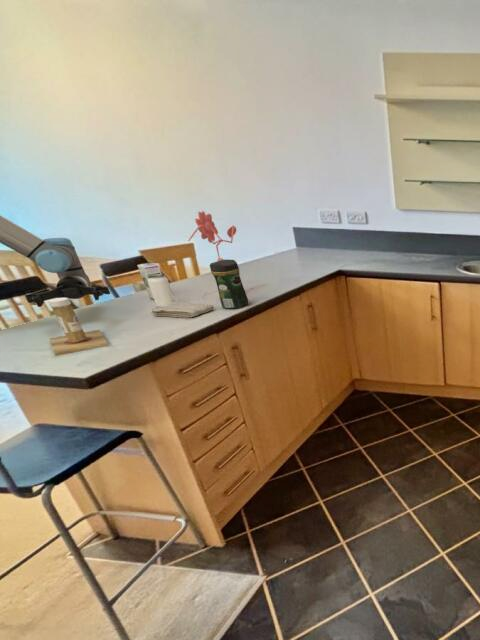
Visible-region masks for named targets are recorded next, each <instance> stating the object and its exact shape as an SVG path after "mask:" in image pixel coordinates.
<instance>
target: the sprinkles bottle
mask: <svg viewBox="0 0 480 640" xmlns="http://www.w3.org/2000/svg"><path fill="white" fill-rule="evenodd" d="M47 302H48V305H49V307H51V310H52V312H53V313H54V315H55V317H56V319H57V322H58V324H59V326H60V328H61V330H62V332H63V333H64V336H66V337H67V339H68V342H72V343H73V342H80V341H84V340H86V339H87V337H86V335H85V333H84V329H83V327H82V324H81V322H80V320H79V318H78V316H77V314H76V313H75V311H74V308H73V306H72V304H71V300H70V298H66V297H63V298H53V299H49V300H47Z"/></svg>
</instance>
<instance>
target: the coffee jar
mask: <svg viewBox="0 0 480 640" xmlns="http://www.w3.org/2000/svg"><path fill="white" fill-rule="evenodd" d="M209 268H210V272H211V275H212V276H213V278H214V280H215V284H216V288H217V292H218V295H219V296H220V298H219V300H220V304H221V307H222V308H224V309H225V310H232V309H240V308H243V307H245V306H247V305H249V304H250V301H249V297H248V295H247V293H246V291H245V288H244V285H243V282H242V279H241V275H240V266H239V265H238V263H237V261H236V260H234V259H224V260H221V261H217V260H216V261H214V262H210V264H209Z"/></svg>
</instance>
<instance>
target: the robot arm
mask: <svg viewBox="0 0 480 640" xmlns="http://www.w3.org/2000/svg"><path fill="white" fill-rule="evenodd" d="M0 244H1V245H3V246H5V247H7V248H8V249H11V250H12V251H15V252H16V253H18V254H20V255H22V256H23V257H25V258H27V259H29V260H31V261H33V262H34V263H36V265H37V266H38V267H39V268H40V269H41V270H42V271H45V272H47V273H51V274H56V275H57V278H58V281H57V283H56V286H55V287H52V289H49V288H47V287H44V288H42V289H40V290H36V291H34V292H30V293H27V294H25V295H24V297H25V299H26V301H27V303H28V304H36V306H37V308H41V307H42V306H43V305H44V303H45V302H46V301H48V300H51V299H55V298H68V299H69V300H70V299H71V300H79V299H83V298H84V297H85V296H88V295H90V296H93V298H94V300H95V301H99V299H100V297H102V296H104V295H111V292H110V288H109V287H108V286H107V285H101V284H97V283H91V280H90V277H89V276H88V274H86V272H85V269H84V267H83V265H82V262H81V260H80V258H79V256H78V253H77V251H76V247H75V246H74V245H73V242H72V240H71V239H70V238H68V237H50V238H44V239H42V238H40V237H39V236H37V235H35V234H34V233H32V232H30V231H28V230H26V229H25V228H24V227H22V226H20V225H18V224H16V223H14V222H13V221H11V220H9V219H8V218H6V217H4V216H3V215H1V214H0Z"/></svg>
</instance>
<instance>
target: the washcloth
mask: <svg viewBox="0 0 480 640" xmlns="http://www.w3.org/2000/svg"><path fill="white" fill-rule="evenodd" d="M214 309H215V306H214V305H212V304H209V303H198V302H181V301H176V302H174V303H171V304H169V305H166V306H160V307H158V306H156V307H155V308H152V309H151V310H150V311H151V312H150V314H151V315H154V316H156V317H170V318H185V319H187V318H188V319H189V318H194V317H197V316H199V315H202V314H206V313H208V312H211V311H213V310H214Z"/></svg>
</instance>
